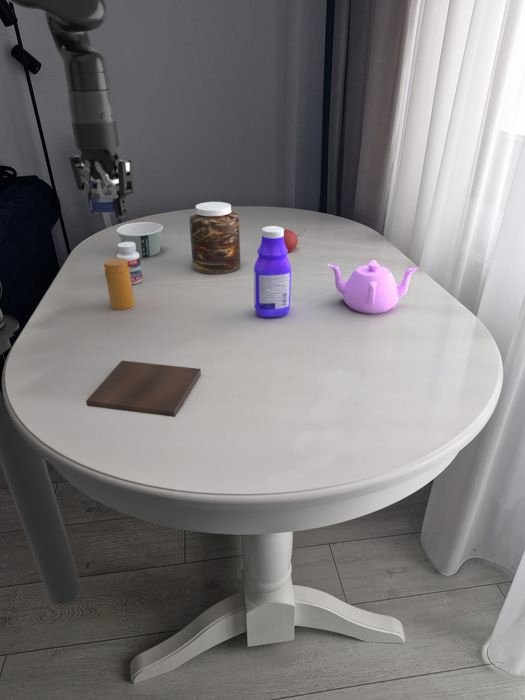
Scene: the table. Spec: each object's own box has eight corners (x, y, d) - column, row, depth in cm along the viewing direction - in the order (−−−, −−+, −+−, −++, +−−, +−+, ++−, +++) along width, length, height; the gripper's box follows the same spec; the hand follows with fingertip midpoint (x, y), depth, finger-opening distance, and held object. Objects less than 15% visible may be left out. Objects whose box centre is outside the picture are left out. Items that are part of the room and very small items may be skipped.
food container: (172, 253, 137) (170, 229, 134) (130, 262, 131) (126, 237, 128) (154, 242, 146) (151, 219, 142) (113, 250, 140) (109, 226, 137)
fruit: (295, 260, 137) (310, 233, 135) (277, 251, 135) (292, 224, 132) (287, 252, 142) (302, 226, 140) (270, 244, 140) (284, 218, 137)
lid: (130, 207, 98) (129, 197, 97) (107, 214, 93) (105, 203, 92) (108, 203, 100) (106, 193, 99) (84, 210, 96) (82, 200, 95)
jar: (233, 256, 135) (231, 198, 127) (245, 271, 125) (244, 209, 117) (189, 261, 131) (184, 202, 124) (198, 277, 122) (193, 214, 114)
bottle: (286, 305, 107) (287, 223, 99) (293, 316, 102) (294, 231, 94) (252, 308, 106) (250, 225, 97) (257, 320, 101) (256, 234, 92)
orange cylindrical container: (106, 308, 107) (98, 265, 102) (117, 299, 111) (110, 256, 106) (128, 310, 106) (121, 266, 101) (138, 301, 110) (132, 258, 105)
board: (86, 406, 77) (85, 400, 76) (122, 365, 87) (121, 360, 86) (175, 417, 74) (174, 411, 74) (201, 373, 84) (200, 368, 84)
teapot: (413, 307, 106) (419, 266, 101) (361, 323, 100) (364, 280, 95) (375, 288, 115) (379, 249, 110) (324, 301, 109) (326, 261, 104)
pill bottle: (132, 286, 117) (126, 249, 113) (115, 282, 120) (109, 245, 115) (147, 279, 121) (142, 242, 117) (131, 275, 124) (125, 239, 119)
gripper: (139, 118, 89) (150, 215, 97) (81, 115, 95) (97, 206, 104) (106, 123, 83) (122, 225, 91) (48, 119, 90) (67, 215, 98)
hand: (109, 215), depth 97 cm, fingers closed on lid, 6 cm apart
